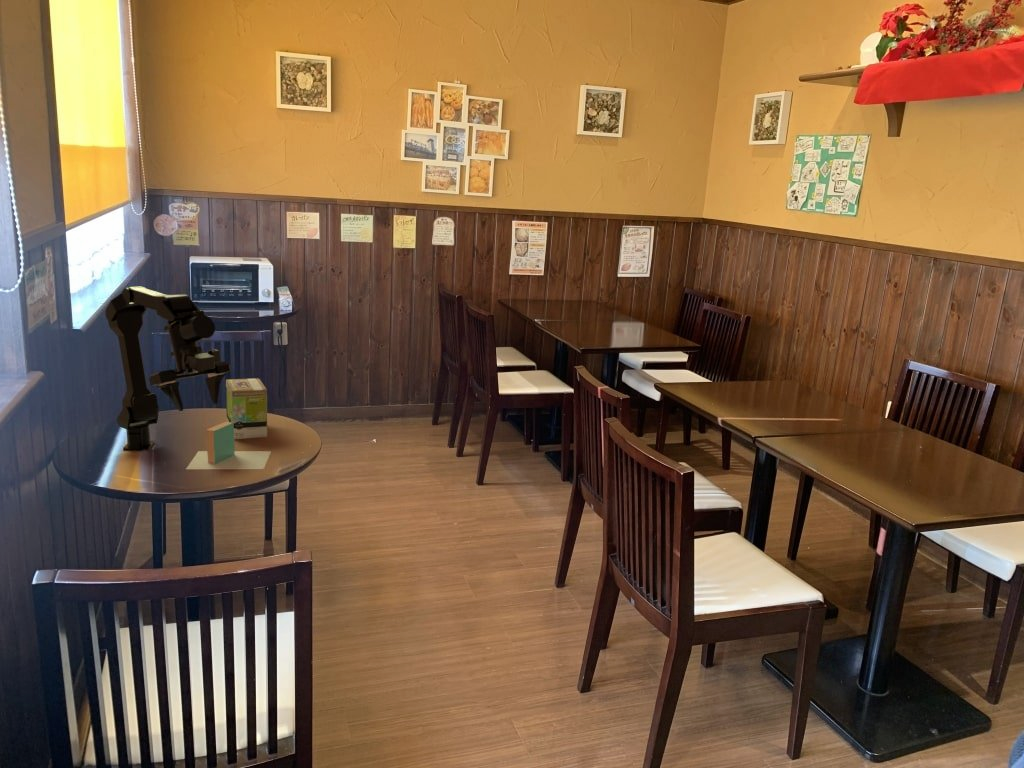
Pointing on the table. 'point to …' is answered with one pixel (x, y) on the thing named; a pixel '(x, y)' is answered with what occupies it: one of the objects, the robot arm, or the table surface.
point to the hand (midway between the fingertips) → (198, 407)
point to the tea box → (247, 407)
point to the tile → (220, 442)
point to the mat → (232, 461)
